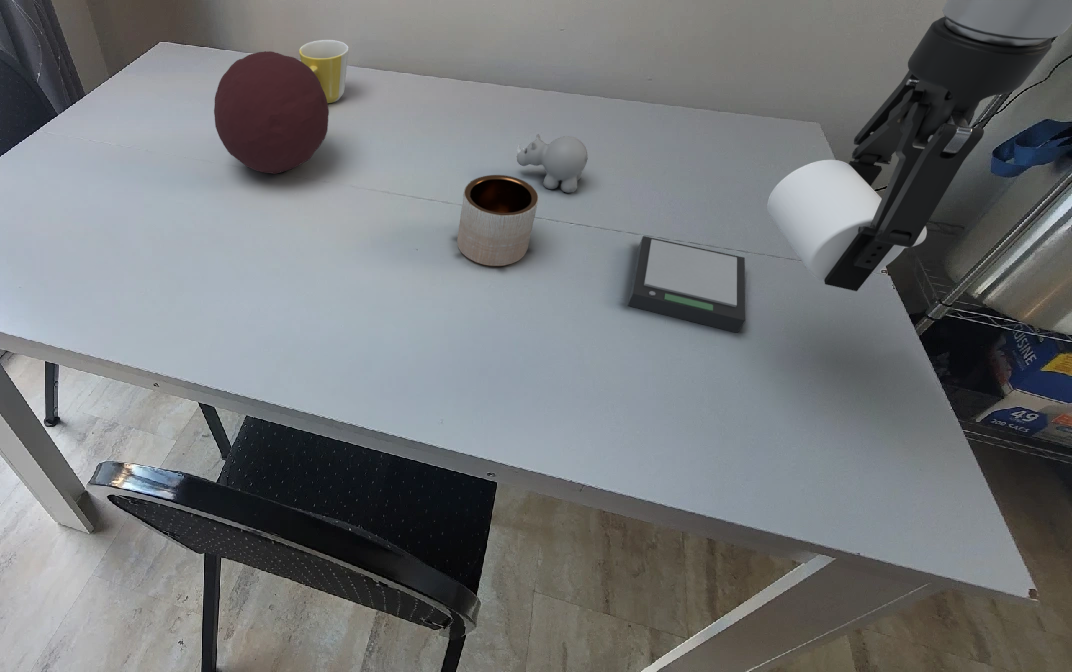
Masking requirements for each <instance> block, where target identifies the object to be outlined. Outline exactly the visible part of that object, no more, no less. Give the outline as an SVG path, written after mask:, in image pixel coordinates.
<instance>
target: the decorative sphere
mask: <svg viewBox="0 0 1072 672" xmlns="http://www.w3.org/2000/svg"><path fill="white" fill-rule="evenodd" d="M213 114H214V126H215V130H216V132H217V134H218V137H219V139H220V141H221V143H222V145H223V146H224V148H225V149H226V151H227V152H228V154H230V155H231V156H232V157H233V158H234V159H236V160H237V161H238V162H240V163H242V164H243V165H244V166H245V167H247V168H250V169H252V170H254V171H256V172H259V173H267V174H274V175H275V174H276V175H277V174H279V173H280V174H281V173H285V172H288V171H289V170H293V169H294V168H296V167H298V166H300V165H302V164H304V163H306V162H307V161H309V160H310V159H311V158H312V157H313V155H314V154H315V152H316V151H317V150H318V149H319V148H320V146H321V144H322V143H323V141H324V140H325V138H326V137H327V134H328V129H329V128H328V127H329V116H330V110H329V103H327V99H326V95H325V93H324V91H323V89H322V86H321V84H320V81H319V79H318V78H317V76H316V75H315V73H314V72H313V71H312V69H311V68H309V67H308V66H307V65H305V64H304V63H303V62H301V60H300V59H298V58H296V57H294V56H289V55H285V54H281V53H280V52H275V51H271V50H270V51H269V50H267V51H258V52H255V53H250V54H248V55H246V56H244V57H242V58H239V59H237V60H235V62H233V63H232V64H231V65H230V66H229V68H228V69H227V71H226V72H225V73H224V74H223V75H222V77H221V78H220V80H219V83H218V85H217V89H216V92H215V95H214V108H213Z"/></svg>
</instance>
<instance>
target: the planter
mask: <svg viewBox="0 0 1072 672" xmlns="http://www.w3.org/2000/svg"><path fill="white" fill-rule="evenodd" d="M462 196H463V197H462V204H461V211H460V218H459V223H458V231H457V237H456V239H457V241H456V242H457V247H458V250H459V251H460V253H462V254H463V255H464V256H465V257H466V258H467V259H469V260H471V261H473V262H475V263H477V264H480V265H484V266H490V267H502V266H507V265H512V264H515V263H517V262H518V261H520V260H521V259H523V257H524V256H525V255H526V254H527V251H528V249H529V245H530V240H531V235H532V231H533V226H534V221H535V217H536V212H537V208H538V204H539V194H538V192H537V190H536V189H535V187H533V186H532V184H530V183H528V182H527V181H525V180H523V179H520V178H518V177H514V176H510V175H506V174H505V175H504V174H489V175H483V176H479V177H477V178H475V179H472V180H471V181H469V182H468V183H467V184H466V186H465V187H464V190H463V195H462Z"/></svg>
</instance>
